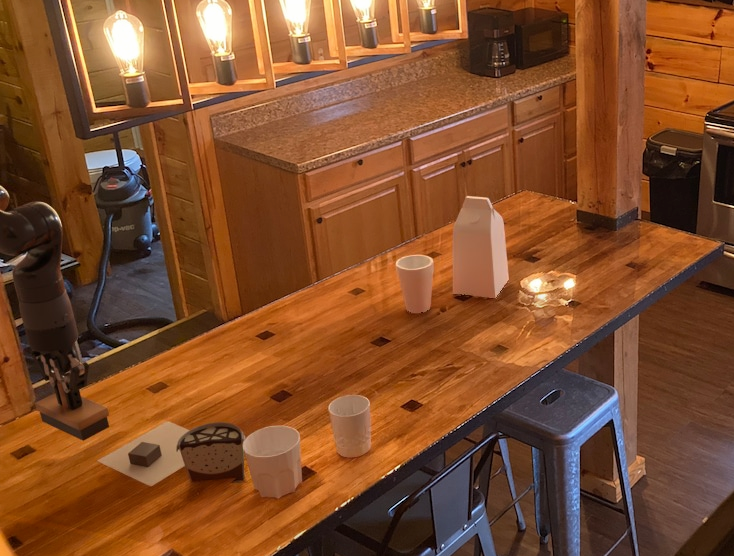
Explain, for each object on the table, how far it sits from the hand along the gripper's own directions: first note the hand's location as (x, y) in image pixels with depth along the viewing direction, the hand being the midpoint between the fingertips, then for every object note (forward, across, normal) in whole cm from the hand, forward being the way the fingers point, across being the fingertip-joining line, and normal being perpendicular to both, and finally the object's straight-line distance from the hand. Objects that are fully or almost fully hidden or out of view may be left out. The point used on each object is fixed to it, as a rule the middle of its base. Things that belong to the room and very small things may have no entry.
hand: (70, 404), depth 168 cm
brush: (+4, 0, 0) cm, 4 cm away
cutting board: (+19, +1, +14) cm, 24 cm away
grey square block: (+18, +1, +11) cm, 21 cm away
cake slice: (+19, +16, +16) cm, 30 cm away
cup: (+19, +28, +19) cm, 39 cm away
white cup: (+19, +32, +35) cm, 51 cm away
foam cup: (+19, +2, +90) cm, 92 cm away
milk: (+19, +9, +108) cm, 110 cm away
